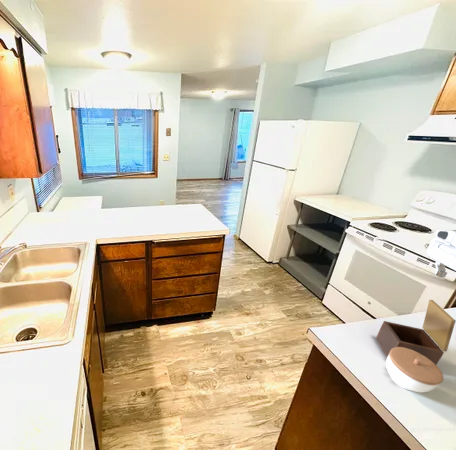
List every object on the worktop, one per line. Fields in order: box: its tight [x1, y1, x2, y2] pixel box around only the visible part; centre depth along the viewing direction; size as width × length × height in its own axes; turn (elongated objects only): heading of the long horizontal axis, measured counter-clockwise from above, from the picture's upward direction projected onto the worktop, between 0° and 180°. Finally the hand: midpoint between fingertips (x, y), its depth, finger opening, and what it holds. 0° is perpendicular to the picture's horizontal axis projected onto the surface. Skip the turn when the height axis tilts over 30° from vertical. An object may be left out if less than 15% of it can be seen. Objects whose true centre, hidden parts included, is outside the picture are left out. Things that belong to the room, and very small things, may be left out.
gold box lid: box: [422, 299, 456, 352], centre depth 73 cm, size 11×10×1 cm
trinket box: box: [385, 347, 444, 393], centre depth 69 cm, size 11×11×9 cm
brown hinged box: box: [375, 320, 445, 366], centre depth 78 cm, size 11×10×8 cm
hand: (454, 285), depth 70 cm, fingers open, 8 cm apart
